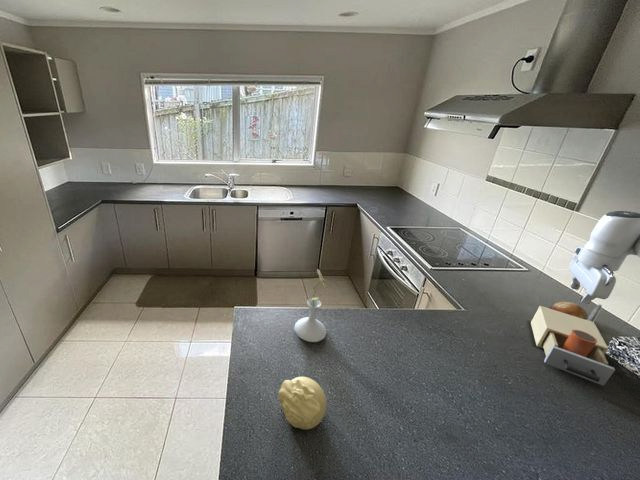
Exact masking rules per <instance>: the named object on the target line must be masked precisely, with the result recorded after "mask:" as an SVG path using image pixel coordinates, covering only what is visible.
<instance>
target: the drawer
mask: <svg viewBox="0 0 640 480" xmlns="http://www.w3.org/2000/svg"><path fill="white" fill-rule="evenodd" d="M567 338H568V337H566V336H564V335H561V334H558V333H555V332H552V331H548V333H547V335H546V337H545V338H544V340H543V342H542V344H543V348H544V349H543V348H542V349H543V350H544V354H545V355H544V356H545V358H544V360H543V362H544V364H546V365H549V366H551V367H553V368H557V369H559V370H562V371H564V372H566V373H570V374H572V375H575V376H577V377H579V378H583V379H585V380H588V381H590V382H593V383H595V384H598V385H600V386H603V387H604V386H605V385H606V384H607V382H608V381H609V379H610V378H611V376H612V375H613V374H614V372H615V371H616V369H615V367H614V366H611V365H609V362H608V360H607V358H606V356H605V355H604V354H603V352H602V350H601V348H599V347H596V346H594V347H593V349H592V350H591V352H590V353H589V355H588V356H587V358H586V357H583V356H581V355H578V354H575V353H572V352H570V351H567V350H564V349H561V348H562V346H563V345H564V343H565V341H566V340H567Z"/></svg>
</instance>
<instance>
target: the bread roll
mask: <svg viewBox="0 0 640 480" xmlns="http://www.w3.org/2000/svg"><path fill="white" fill-rule="evenodd" d="M551 309H553V310H556V311H559V312H562V313H565V314H569V315H572V316H575V317H578V318H582V319H585V320H587V318H588V317H589V315H588V312H587V311H586V310H585V309H584V307H582V306H580V305H579V304H577V303H575V302H570V301H558V302H556V303H554V304H553V305H552V307H551Z"/></svg>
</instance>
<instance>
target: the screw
mask: <svg viewBox="0 0 640 480" xmlns="http://www.w3.org/2000/svg"><path fill="white" fill-rule="evenodd" d="M602 308H603V305H602V304H599V303H598V305H596V306H595V308H593V309H592V311H591V313H590V314H589V315H588V318H587V320H588V321H591V322H594V323H595V321H596V319H597V318H598V316H599V315H600V313H601V311H602Z"/></svg>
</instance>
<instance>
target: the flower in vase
mask: <svg viewBox="0 0 640 480" xmlns="http://www.w3.org/2000/svg"><path fill="white" fill-rule="evenodd" d="M316 272H317V275H318V277H319V280H318V281H317V283H316V284H315V286H312V291H313V293H312V295H313V296H312V298H308V299H307V300H306V304H307V305H308V308H309V312H308V313H309V314H308V317H307V316H306V317H302V318H300V319H298V320H297V321H296V322H295V324H294V332H295V334H296V335H297V336H298V337H299V338H300V339H301V340H303V341H306V342H308V343H318V342H321V341H322V340H324V339H325V337H326V336H327V329H326V327H325V325H324V324H323V323H322V322H321V321H320V320H318V319H317V318H316V315H317V312H318V309H320V308H321V306H322V302H321V301H320V300H319V299H320V297H319V296H316V297H315V294H317V293H316V292H317V291H316V288H317V286H318V285H319V283H322V285H323V287H324V289H325V290H326V292H329V286H328V285H327V282H326V280H325V278H324V277H323V274H322V273H321V270H320V269H316Z"/></svg>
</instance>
